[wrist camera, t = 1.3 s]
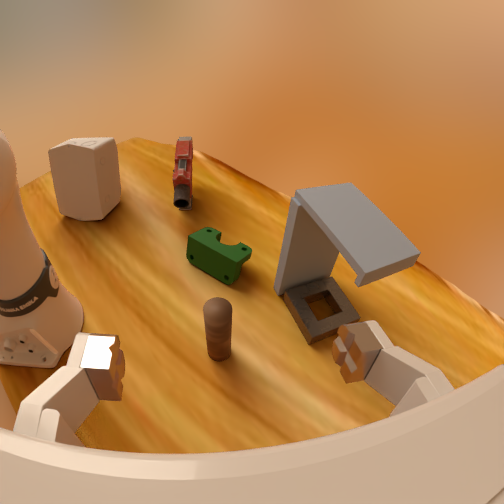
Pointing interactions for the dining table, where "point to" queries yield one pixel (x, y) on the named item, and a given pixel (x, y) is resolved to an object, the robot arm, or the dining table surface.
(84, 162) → the electrical switch box
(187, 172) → the toy gun
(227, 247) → the clamp
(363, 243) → the gray cantilever bracket
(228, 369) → the dining table surface
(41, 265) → the robot arm
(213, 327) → the peg
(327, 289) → the socket
